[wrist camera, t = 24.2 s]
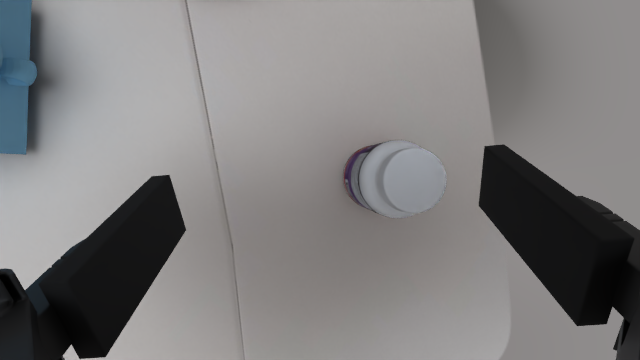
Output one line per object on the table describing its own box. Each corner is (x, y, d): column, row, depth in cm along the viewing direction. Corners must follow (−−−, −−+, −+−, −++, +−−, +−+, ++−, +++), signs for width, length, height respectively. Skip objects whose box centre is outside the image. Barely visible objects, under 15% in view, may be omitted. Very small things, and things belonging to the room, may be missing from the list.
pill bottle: (408, 153, 31) (467, 147, 22) (394, 213, 31) (447, 233, 22) (349, 139, 31) (383, 126, 21) (335, 200, 31) (363, 215, 21)
